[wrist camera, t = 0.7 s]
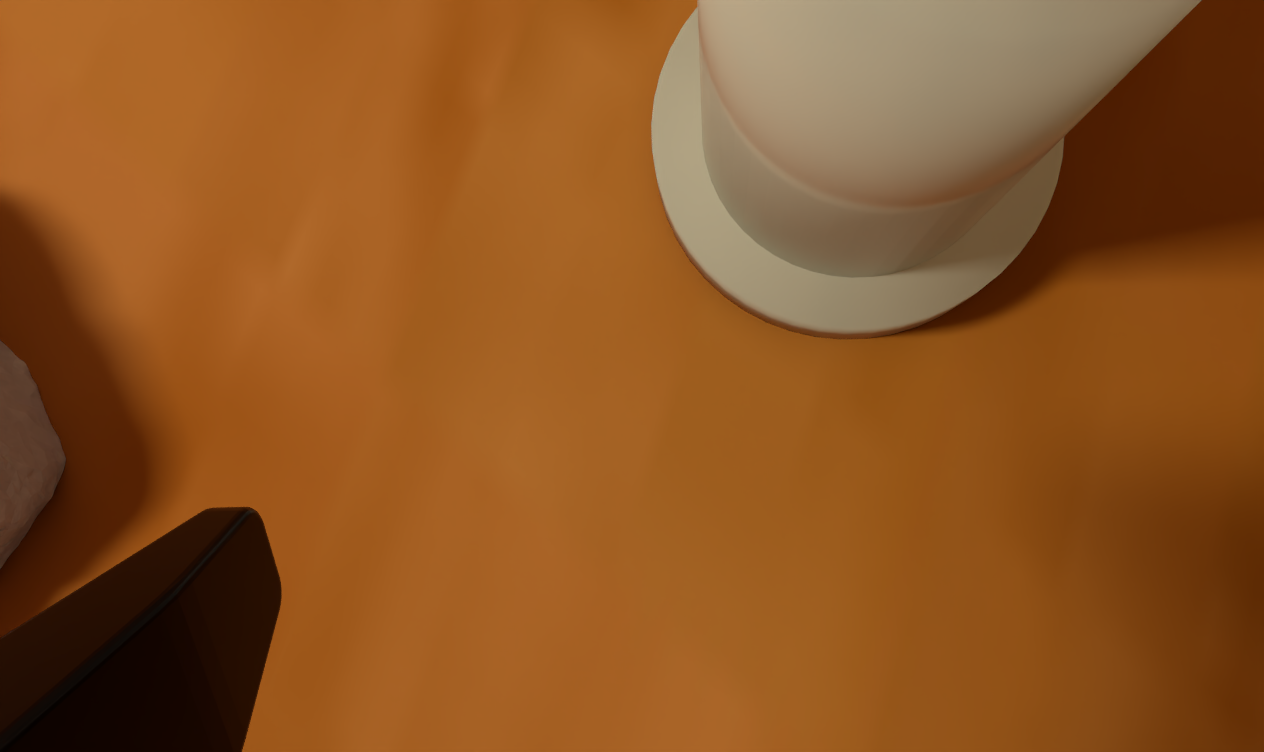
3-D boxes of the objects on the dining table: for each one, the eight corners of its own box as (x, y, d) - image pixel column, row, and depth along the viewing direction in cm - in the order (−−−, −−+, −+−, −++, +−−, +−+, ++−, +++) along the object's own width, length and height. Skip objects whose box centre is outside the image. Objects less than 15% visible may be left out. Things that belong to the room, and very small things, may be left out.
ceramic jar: (1039, 345, 21) (1485, 157, 9) (647, 333, 22) (563, 140, 10) (1042, -30, 22) (1455, -677, 10) (663, -32, 23) (603, -641, 11)
